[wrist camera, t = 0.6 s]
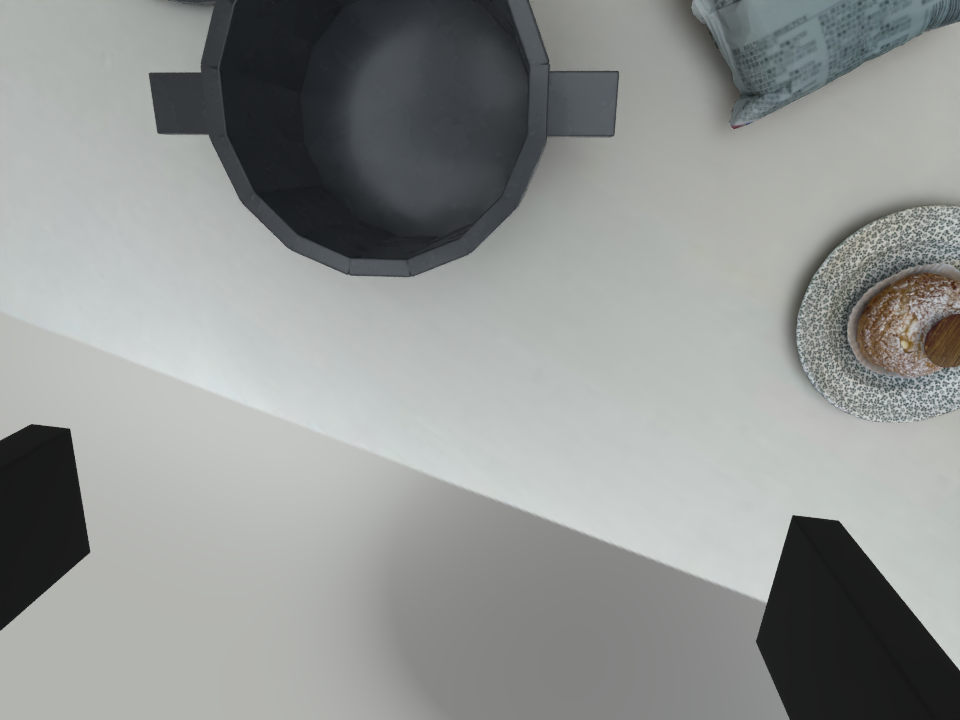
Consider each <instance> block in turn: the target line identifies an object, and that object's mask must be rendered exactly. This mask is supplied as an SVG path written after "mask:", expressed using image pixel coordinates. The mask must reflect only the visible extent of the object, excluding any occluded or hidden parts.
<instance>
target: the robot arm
mask: <svg viewBox="0 0 960 720" xmlns="http://www.w3.org/2000/svg"><path fill="white" fill-rule="evenodd" d="M89 553H90V547H89V541H88V535H87V529H86V523H85V517H84V511H83V505H82V499H81V492H80V487H79V481H78V474H77V468H76V462H75V456H74V450H73V444H72V438H71V431H70V429H67V428H59V427H50V426H42V425H34V424H31V425H29V426H27V427H25V428H23V429H21V430H19V431H18V432H16V433H14V434H12V435H10V436H8V437H6V438H4V439H2V440H1V441H0V630H2V629H3V628H4V627H5V626H6V625H8V624H9V623H10V622H11V621H12V620H13V619H14V618H16V617H17V616H18V615H19V614H20V613H21V612H22V611H23V610H25V609H26V608H27V607H28V606H29V605H30V604H32V603H33V602H34V601H35V600H36V599H37V598H38V597H39V596H41V594H43V593H44V592H45V591H46V590H48V589H49V588H50V587H51V586H52V585H53V584H54V583H56V582H57V581H58V580H59V579H60V578H61V577H62V576H64V575H65V574H66V573H67V572H68V571H69V570H70V569H72V568H73V567H74V566H75V565H76V564H77V563H78V562H79V561H81V560H82V559H83V558H84V557H85V556H86V555H88V554H89ZM756 643H757V645H758V647H759V650H760V652H761V654H762V656H763V659H764V661H765V664H766V666H767V668H768V670H769V673H770V674H771V677H772V680H773V682H774V684H775V686H776V689H777V691H778V693H779V696H780V698H781V700H782V702H783V705H784V707H785V709H786V712H787V714H788V716H789V719H790V720H960V670H959V669H958V668H957V667H956V665H955V664H954V663H953V662H952V661H951V659H950V658H949V657H948V656H947V654H946V653H945V652H944V651H943V649H942V648H941V647H940V646H939V644H938V643H937V642H936V641H935V639H934V638H933V637H932V636H931V634H930V633H929V632H928V631H927V630H926V628H925V627H924V626H923V625H922V623H921V622H920V621H919V620H918V618H917V617H916V616H915V615H914V613H913V612H912V611H911V610H910V608H909V607H908V606H907V605H906V603H905V602H904V601H903V600H902V599H901V597H900V596H899V595H898V594H897V592H896V591H895V590H894V589H893V587H892V586H891V585H890V584H889V582H888V581H887V580H886V579H885V577H884V576H883V575H882V574H881V573H880V571H879V570H878V569H877V568H876V566H875V565H874V564H873V563H872V561H871V560H870V559H869V558H868V556H867V555H866V554H865V553H864V551H863V550H862V549H861V548H860V546H859V545H858V544H857V543H856V542H855V540H854V539H853V538H852V537H851V535H850V534H849V533H848V532H847V530H846V529H845V528H844V527H843V525H842V524H841V523H840V522H839V521H837V520H828V519H820V518H811V517H803V516H795V515H793V516H792V519H791V523H790V526H789V529H788V533H787V536H786V540H785V543H784V547H783V550H782V554H781V557H780V561H779V564H778V567H777V571H776V574H775V578H774V581H773V585H772V588H771V592H770V595H769V599H768V602H767V606H766V609H765V613H764V616H763V619H762V623H761V626H760V630H759V633H758V637H757V640H756Z"/></svg>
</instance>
